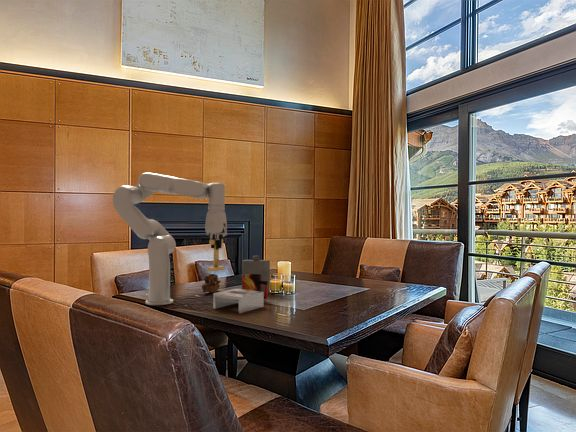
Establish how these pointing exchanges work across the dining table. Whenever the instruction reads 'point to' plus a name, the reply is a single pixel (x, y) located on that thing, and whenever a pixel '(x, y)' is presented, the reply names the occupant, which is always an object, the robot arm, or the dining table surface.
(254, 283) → the mug
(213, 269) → the tall wooden post
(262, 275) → the flask
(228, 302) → the white slotted holder
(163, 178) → the robot arm
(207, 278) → the wooden carving
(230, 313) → the dining table surface
